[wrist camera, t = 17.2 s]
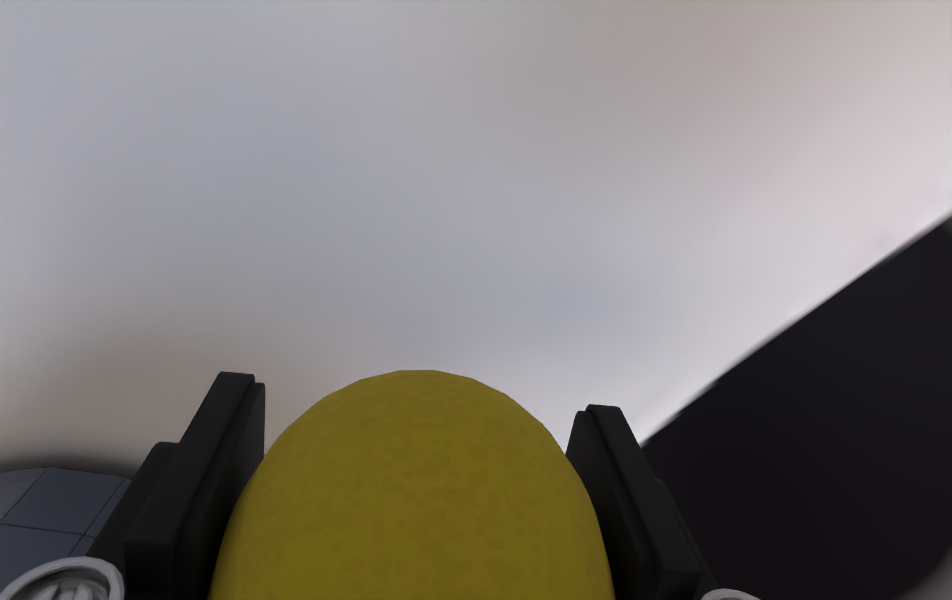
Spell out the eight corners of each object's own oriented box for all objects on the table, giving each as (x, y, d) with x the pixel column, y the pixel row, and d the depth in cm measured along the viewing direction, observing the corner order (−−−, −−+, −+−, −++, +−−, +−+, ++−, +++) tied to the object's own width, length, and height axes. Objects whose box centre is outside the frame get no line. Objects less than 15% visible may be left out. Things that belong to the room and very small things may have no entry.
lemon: (524, 531, 14) (632, 1069, 7) (272, 515, 13) (98, 1097, 6) (579, 312, 12) (820, 757, 5) (283, 277, 11) (33, 742, 4)
